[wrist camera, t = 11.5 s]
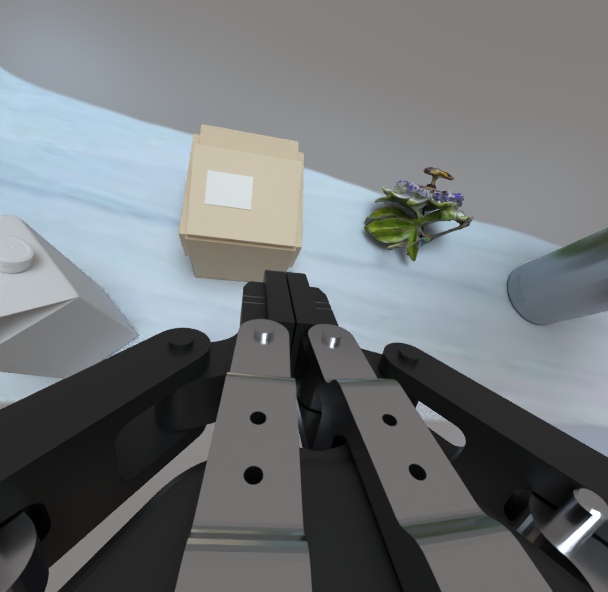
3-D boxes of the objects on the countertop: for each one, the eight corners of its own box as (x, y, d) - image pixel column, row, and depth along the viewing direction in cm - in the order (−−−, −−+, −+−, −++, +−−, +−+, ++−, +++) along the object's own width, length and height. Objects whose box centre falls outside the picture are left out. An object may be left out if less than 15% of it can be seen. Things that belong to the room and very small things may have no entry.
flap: (300, 165, 31) (301, 161, 30) (293, 247, 31) (295, 246, 30) (195, 147, 29) (194, 142, 28) (187, 235, 29) (185, 233, 28)
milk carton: (74, 380, 33) (-110, 362, 15) (34, 325, 33) (-191, 245, 15) (139, 335, 35) (48, 274, 17) (100, 285, 36) (-27, 177, 18)
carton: (288, 200, 44) (305, 141, 34) (284, 285, 40) (303, 248, 30) (201, 187, 42) (193, 121, 32) (190, 276, 38) (176, 233, 28)
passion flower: (389, 225, 53) (462, 182, 46) (406, 283, 48) (491, 244, 41) (347, 193, 45) (428, 135, 38) (363, 258, 40) (459, 205, 33)
